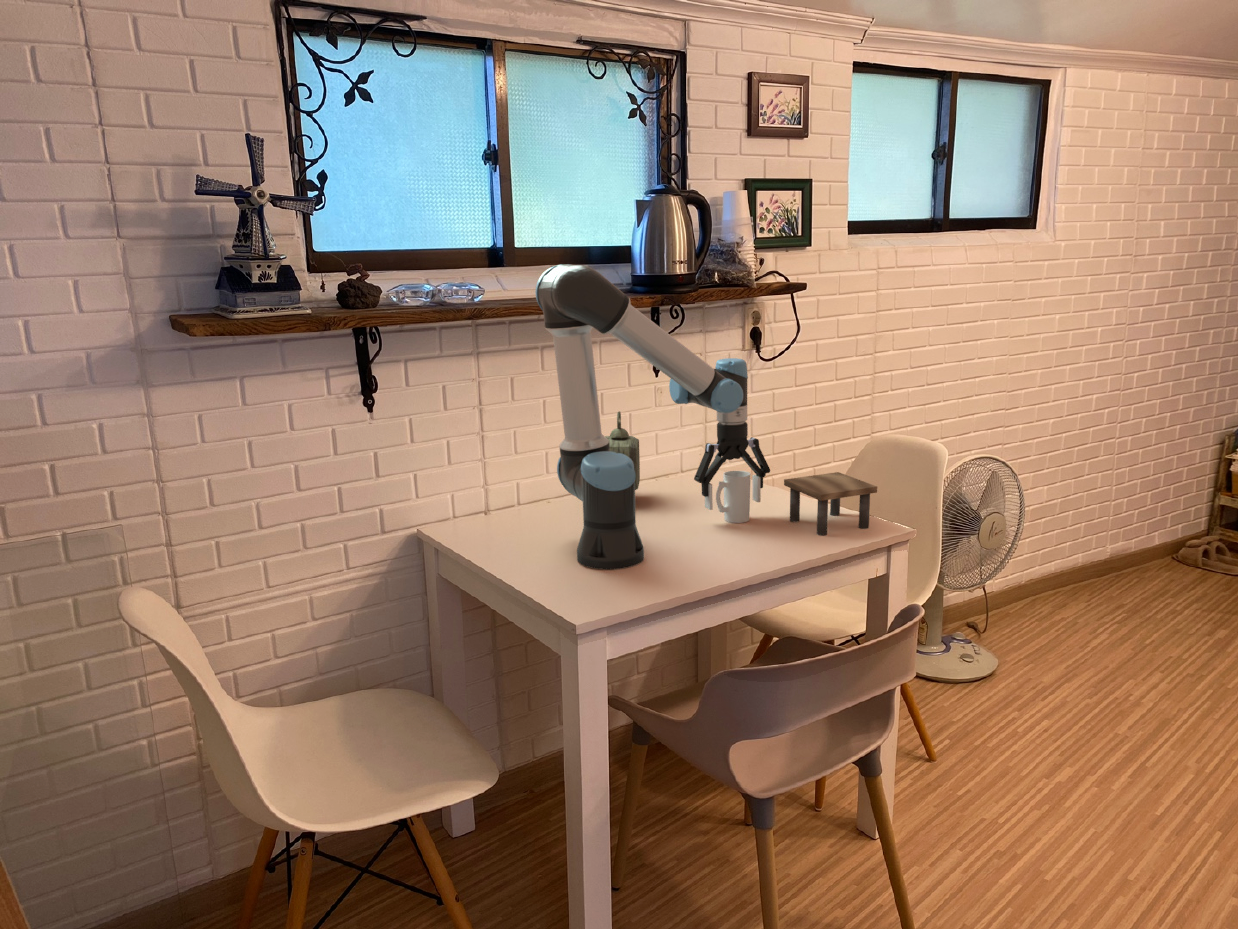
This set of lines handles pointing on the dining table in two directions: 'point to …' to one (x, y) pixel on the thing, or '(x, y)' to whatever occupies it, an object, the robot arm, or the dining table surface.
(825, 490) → the small wooden stand
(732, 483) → the mug
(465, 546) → the dining table surface
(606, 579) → the dining table surface
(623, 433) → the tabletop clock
